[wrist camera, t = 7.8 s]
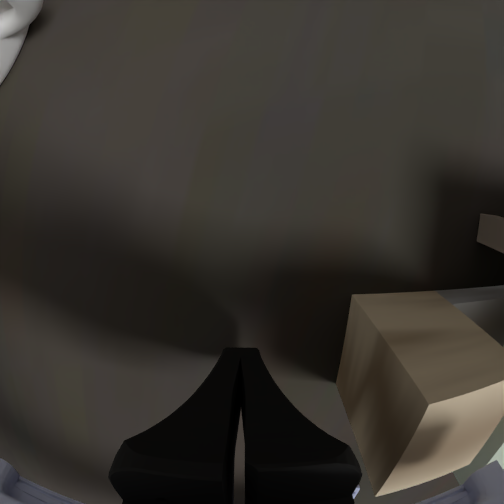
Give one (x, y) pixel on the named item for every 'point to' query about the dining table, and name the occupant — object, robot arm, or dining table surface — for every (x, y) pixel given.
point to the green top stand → (500, 441)
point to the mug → (14, 29)
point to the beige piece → (422, 381)
